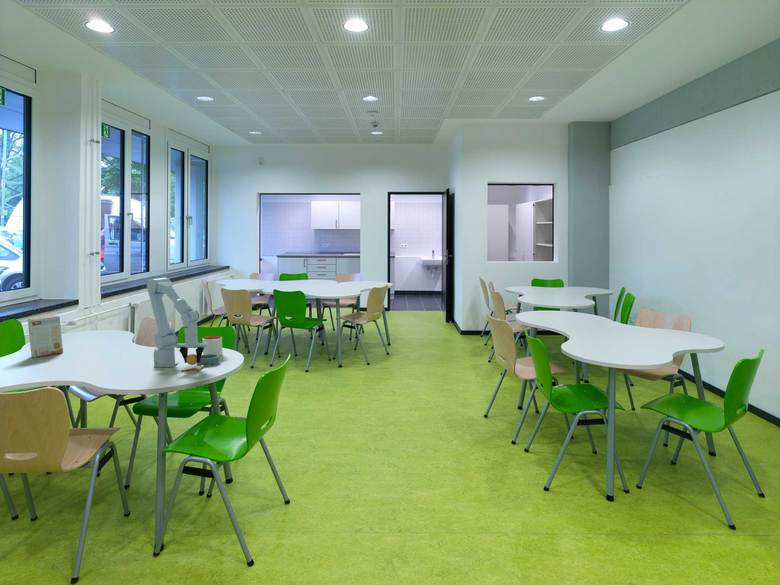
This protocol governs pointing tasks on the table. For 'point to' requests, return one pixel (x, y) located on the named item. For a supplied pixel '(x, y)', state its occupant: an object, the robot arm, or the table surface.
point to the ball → (191, 359)
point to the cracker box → (45, 336)
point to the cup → (213, 345)
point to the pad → (192, 368)
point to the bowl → (208, 359)
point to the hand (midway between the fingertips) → (192, 362)
